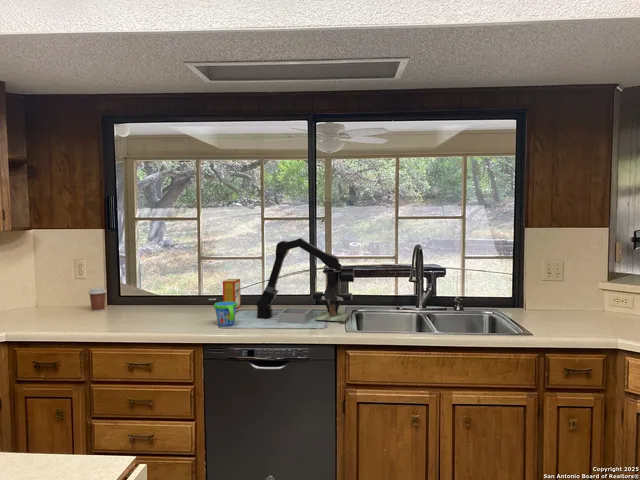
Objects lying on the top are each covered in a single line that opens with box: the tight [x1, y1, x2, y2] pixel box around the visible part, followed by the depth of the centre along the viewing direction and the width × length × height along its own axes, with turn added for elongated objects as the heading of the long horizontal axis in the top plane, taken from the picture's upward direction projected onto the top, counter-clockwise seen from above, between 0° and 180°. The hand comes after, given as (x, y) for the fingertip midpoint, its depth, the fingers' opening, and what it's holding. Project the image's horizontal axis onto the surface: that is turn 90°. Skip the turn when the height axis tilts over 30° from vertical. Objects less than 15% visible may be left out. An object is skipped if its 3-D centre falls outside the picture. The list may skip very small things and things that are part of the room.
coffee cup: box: [87, 286, 108, 312], centre depth 253 cm, size 9×9×12 cm
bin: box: [278, 307, 313, 325], centre depth 226 cm, size 13×13×5 cm
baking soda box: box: [222, 278, 242, 310], centre depth 256 cm, size 10×6×16 cm
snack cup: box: [213, 301, 237, 327], centre depth 220 cm, size 16×10×10 cm
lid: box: [314, 304, 351, 322], centre depth 228 cm, size 14×14×6 cm
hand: (332, 313), depth 227 cm, fingers open, 3 cm apart
